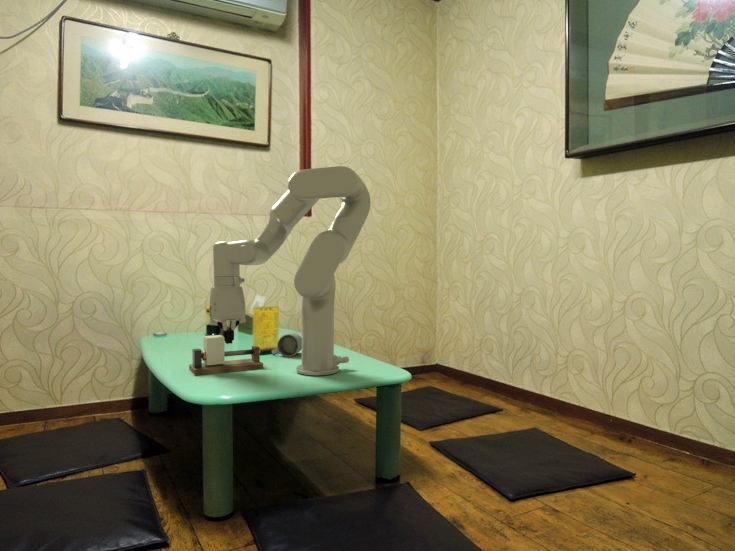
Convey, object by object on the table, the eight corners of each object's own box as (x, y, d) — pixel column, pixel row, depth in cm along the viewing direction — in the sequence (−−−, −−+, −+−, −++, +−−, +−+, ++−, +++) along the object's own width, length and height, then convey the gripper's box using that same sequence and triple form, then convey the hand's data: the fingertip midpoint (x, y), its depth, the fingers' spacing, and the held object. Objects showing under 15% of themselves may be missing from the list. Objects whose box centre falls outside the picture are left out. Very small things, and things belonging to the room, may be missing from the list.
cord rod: (252, 360, 158) (252, 344, 158) (255, 362, 155) (255, 345, 155) (192, 365, 149) (192, 349, 149) (194, 367, 147) (194, 350, 146)
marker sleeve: (220, 360, 154) (220, 334, 154) (224, 363, 150) (224, 337, 150) (203, 362, 152) (203, 336, 152) (207, 365, 147) (207, 338, 147)
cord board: (254, 362, 161) (254, 344, 161) (263, 368, 154) (263, 348, 153) (189, 369, 152) (188, 349, 152) (194, 375, 144) (194, 354, 144)
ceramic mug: (304, 352, 179) (304, 331, 179) (298, 357, 171) (298, 334, 171) (275, 352, 180) (275, 331, 180) (268, 356, 172) (267, 334, 172)
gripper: (248, 281, 159) (250, 339, 160) (199, 283, 152) (200, 343, 153) (254, 281, 152) (256, 342, 153) (203, 283, 145) (205, 347, 146)
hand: (228, 342), depth 153 cm, fingers closed
